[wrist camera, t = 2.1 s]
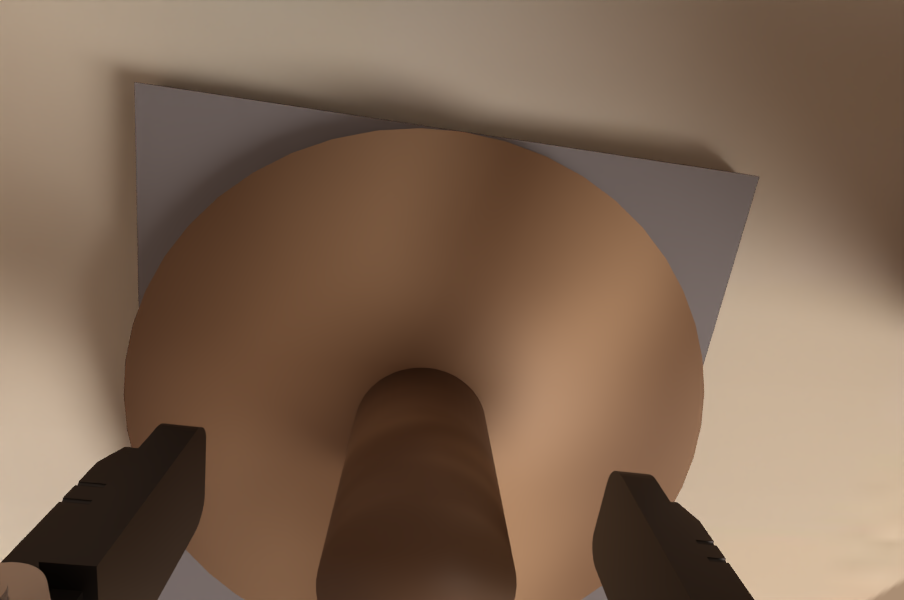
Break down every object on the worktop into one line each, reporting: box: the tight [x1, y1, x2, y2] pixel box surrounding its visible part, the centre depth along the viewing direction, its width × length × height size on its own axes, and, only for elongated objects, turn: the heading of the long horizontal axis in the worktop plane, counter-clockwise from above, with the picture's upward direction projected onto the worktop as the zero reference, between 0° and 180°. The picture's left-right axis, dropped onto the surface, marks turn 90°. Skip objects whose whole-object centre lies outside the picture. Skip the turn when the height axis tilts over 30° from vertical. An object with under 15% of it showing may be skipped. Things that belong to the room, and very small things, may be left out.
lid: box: [124, 128, 704, 600], centre depth 12 cm, size 14×14×6 cm
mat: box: [135, 82, 759, 600], centre depth 15 cm, size 14×14×1 cm
